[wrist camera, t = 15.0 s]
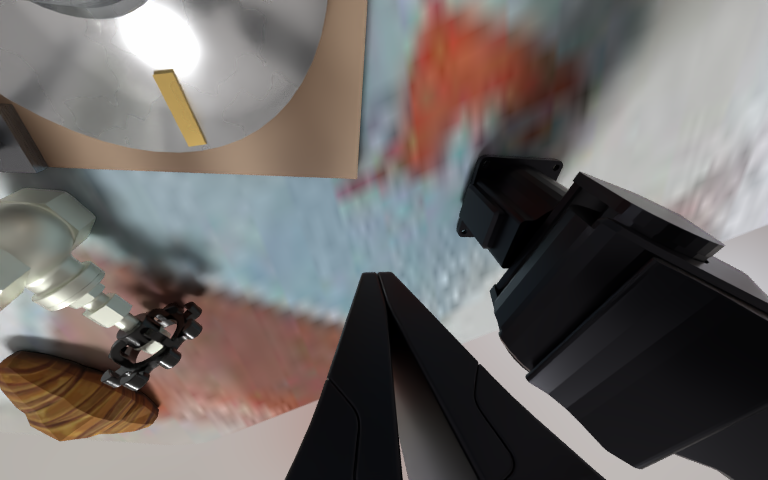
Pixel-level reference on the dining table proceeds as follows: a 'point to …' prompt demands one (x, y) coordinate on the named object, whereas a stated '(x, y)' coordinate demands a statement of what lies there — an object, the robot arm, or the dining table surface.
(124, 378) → the valve
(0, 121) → the dial gauge
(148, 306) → the dining table surface
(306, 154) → the base board
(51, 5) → the cover
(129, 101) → the turntable
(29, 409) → the croissant
